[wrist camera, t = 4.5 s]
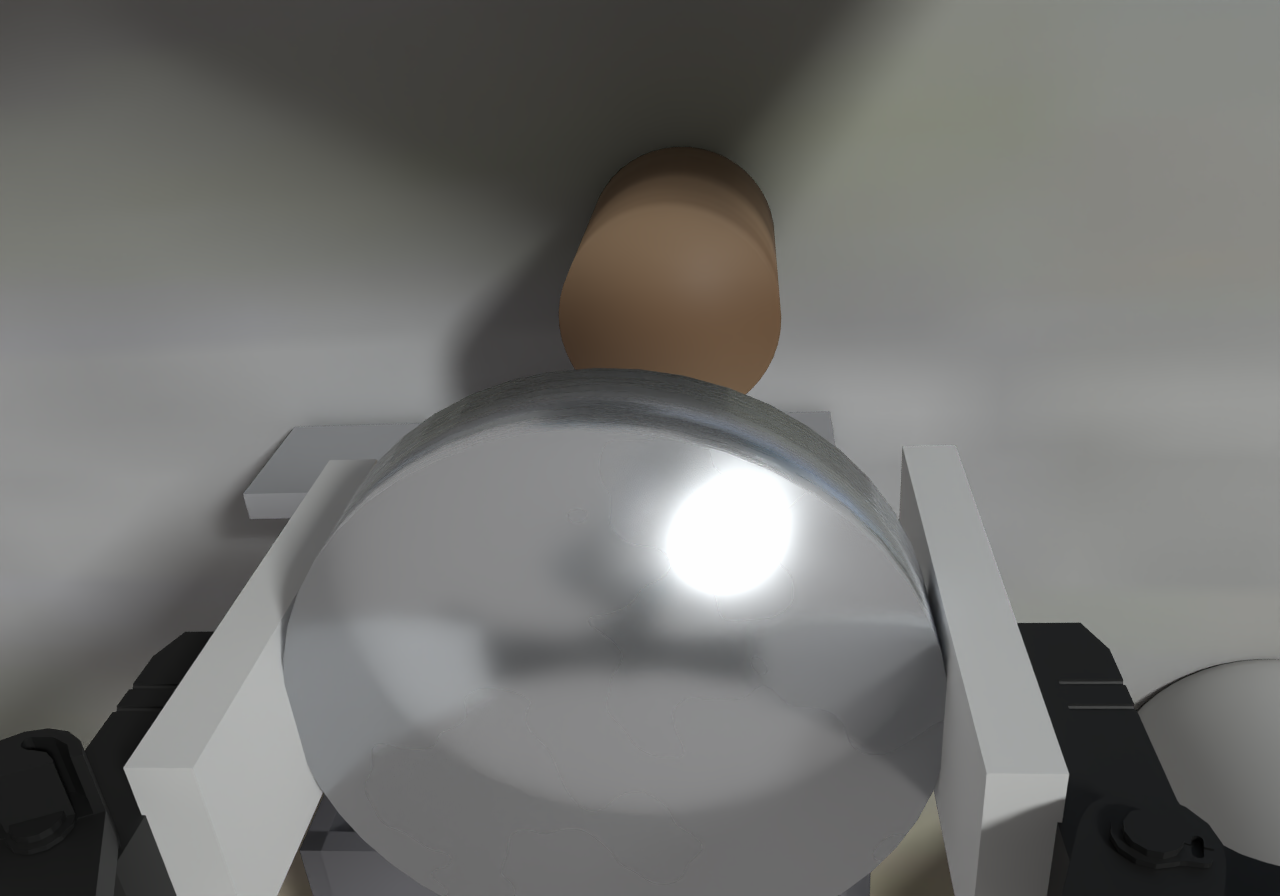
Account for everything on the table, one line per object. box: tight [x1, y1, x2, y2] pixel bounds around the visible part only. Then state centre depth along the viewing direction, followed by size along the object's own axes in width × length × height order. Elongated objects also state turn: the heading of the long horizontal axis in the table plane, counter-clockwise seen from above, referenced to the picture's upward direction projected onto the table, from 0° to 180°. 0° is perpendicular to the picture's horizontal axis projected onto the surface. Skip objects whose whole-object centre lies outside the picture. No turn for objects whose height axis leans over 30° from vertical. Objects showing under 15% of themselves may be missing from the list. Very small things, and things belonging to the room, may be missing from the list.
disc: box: [283, 368, 947, 896], centre depth 14 cm, size 8×8×2 cm
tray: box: [243, 412, 835, 519], centre depth 35 cm, size 17×16×4 cm
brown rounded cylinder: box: [559, 147, 781, 394], centre depth 28 cm, size 5×5×6 cm
